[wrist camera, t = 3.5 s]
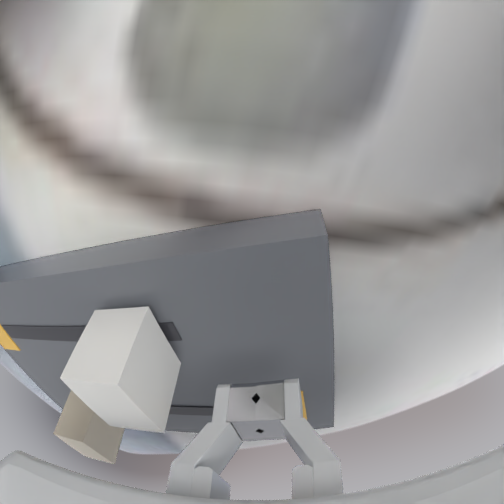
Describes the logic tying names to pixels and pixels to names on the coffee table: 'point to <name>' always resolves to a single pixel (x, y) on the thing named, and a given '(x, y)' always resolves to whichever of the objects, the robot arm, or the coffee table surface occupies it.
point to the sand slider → (88, 431)
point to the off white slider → (124, 369)
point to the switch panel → (190, 309)
